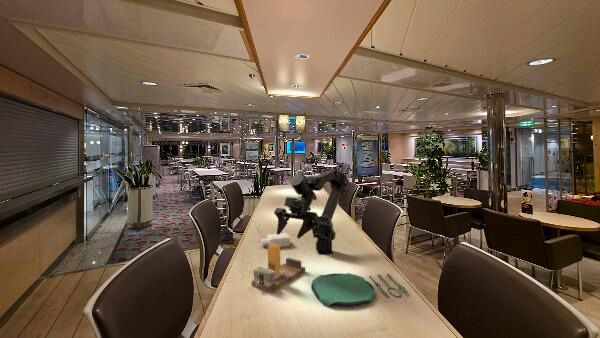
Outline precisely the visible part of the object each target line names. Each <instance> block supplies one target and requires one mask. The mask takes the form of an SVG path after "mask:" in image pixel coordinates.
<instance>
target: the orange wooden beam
mask: <svg viewBox="0 0 600 338" xmlns="http://www.w3.org/2000/svg"><path fill="white" fill-rule="evenodd" d="M280 265H281V247H280V245H278V244H271V245H267V269H270V270H273V271H275V279H276V281H277V280H278V279H280V278H282V277H283V276H285V271H281V270H280ZM263 282H264V279H263V280H261V281H259V282H257V283H256V285H257V286H258V285H260V284H262V283H263Z"/></svg>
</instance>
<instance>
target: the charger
mask: <svg viewBox="0 0 600 338" xmlns="http://www.w3.org/2000/svg"><path fill="white" fill-rule="evenodd" d="M256 242H257V244H261V245H262V246H266V245H267V246H269V245H271V244H278V245H280V248H285V247H287V248H288V247H291V237H290V235H289V234H288V233H287V232H281V233H280V234H279V235H278V234H277V233H270V234H268V235H267V236H266V238H261V239H260V240H258V241H256Z"/></svg>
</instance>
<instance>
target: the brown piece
mask: <svg viewBox="0 0 600 338" xmlns="http://www.w3.org/2000/svg"><path fill="white" fill-rule="evenodd" d="M280 270H281V271H285V276H283V277H282V278H280V279H278V280H277V281H276V279H275V271H273V270H270V269H268V267H264V266H258V267H256V268H254V269H253V279H252V280H251V286H253V287H255V288H257V289H261V290H263V291H267V292H270V293H274V292H276V291H277V290H279V289H280V288H282V287H283V286H284V285H287V284H289V282H291V281H293V280H295V279H296V278H297V277H299V276H301V275H302V274H304V273H305V272H306V267H305V266H302V260H301V259H300V260H299V259H295V258H292V257H287V258H285V262H284V263H283V264H280ZM263 279H264V282H263V283H262V284H260V285H258V286H257V285H256V283H257V282H259V281H261V280H263Z"/></svg>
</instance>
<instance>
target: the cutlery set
mask: <svg viewBox="0 0 600 338" xmlns="http://www.w3.org/2000/svg"><path fill="white" fill-rule="evenodd" d="M386 276H387V278H389V280H390V281H391V282H392V283H393V284H394V285H396V286H397V287H398V288H395V287H392V286H390V285H389V284H388V282H387V281H386V280H385V279H384V278H383V277H384V276H382V275H381V274H377V278H379V279H380V280H381V281H382V282H383V283H384V284H385V285H386V286H387V290H388V292H389V293H390V295H392V296H394V297H401V296H402V295H404V296H405V297H412V295H411V294H410V293H409V292H408V291H407V289H406V287H405V286H402V284H399V282H397V281H396V280H395V279H394V278H393V277H392V275H390V273H387V274H386ZM368 277H369V278H370V279H371V280H372V282H373V283H374V285H375V286H376V288H378V289H379V291H380V292H381V293H382V294H383V295H384V296H385V297H386V298H388V299H390V295H389V294H388V293H387V292H386V291H385V290H384V289H383V288H382V287H381V284H380V283H379V282H378V281H376V280H375V279H374V278H373V277H372V276H371V275H368ZM374 285H373V284H372V283H370V282H369V281H368V280H366V279H365V278H364V277H363V276H360V275H357V274H352V273H350V272H348V273H328V274H320V275H318V276H317V277H315V278H313V279H312V283H311V285H310V287H311V291H312V292H313V294H314V296H316V297H318V298H319V301H320V303H322V305H324V306H327V307H329V306H330V305H332V304H333V305H334V304H335V305H341V306H355V305H361V304H364V303H366V302H368V301H369V302H370V303H371V302H372V300H374V299H375V298H376V295H377V293H376V291H375V288H374ZM392 290H393V291H396V292H397V293H398V296H397V295H394V294H393V293H392V292H391V291H392Z"/></svg>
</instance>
